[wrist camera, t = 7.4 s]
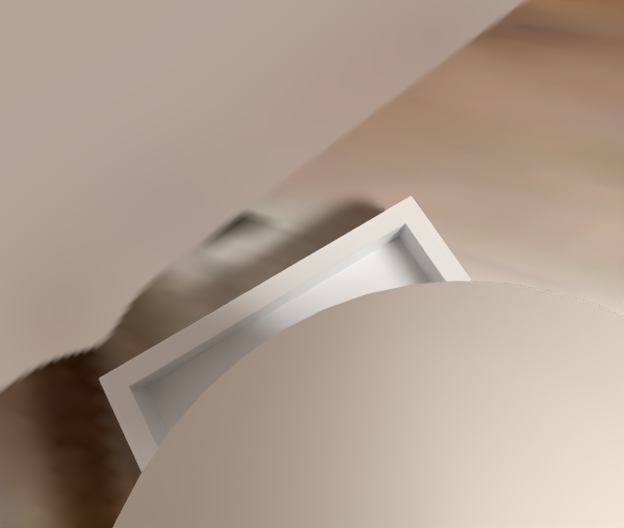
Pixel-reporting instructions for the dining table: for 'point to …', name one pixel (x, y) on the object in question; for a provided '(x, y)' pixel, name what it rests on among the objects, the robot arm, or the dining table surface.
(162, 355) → the tray
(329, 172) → the dining table surface
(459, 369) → the blue cylindrical canister
